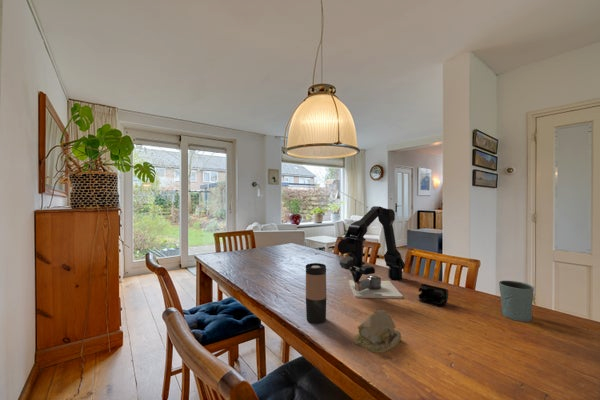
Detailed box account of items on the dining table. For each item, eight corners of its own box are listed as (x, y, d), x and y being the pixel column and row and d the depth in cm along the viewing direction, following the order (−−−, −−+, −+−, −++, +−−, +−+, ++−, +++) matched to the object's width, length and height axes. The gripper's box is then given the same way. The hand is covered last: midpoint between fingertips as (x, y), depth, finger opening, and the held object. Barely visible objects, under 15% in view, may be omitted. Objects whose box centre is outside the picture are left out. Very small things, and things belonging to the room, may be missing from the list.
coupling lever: (372, 283, 131) (372, 273, 131) (383, 287, 125) (383, 276, 125) (350, 290, 122) (350, 279, 121) (362, 294, 116) (362, 283, 116)
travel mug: (328, 316, 98) (328, 263, 98) (323, 326, 91) (323, 269, 91) (309, 313, 101) (308, 262, 100) (303, 322, 93) (302, 267, 93)
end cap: (448, 303, 110) (448, 287, 110) (442, 308, 105) (442, 291, 105) (424, 296, 117) (424, 281, 117) (417, 301, 112) (417, 285, 112)
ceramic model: (373, 357, 73) (373, 322, 73) (348, 338, 83) (347, 307, 83) (407, 344, 80) (407, 311, 80) (380, 327, 90) (379, 299, 90)
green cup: (525, 325, 91) (525, 290, 91) (493, 313, 100) (493, 282, 100) (539, 318, 95) (539, 286, 95) (506, 308, 104) (507, 278, 104)
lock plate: (389, 282, 136) (389, 280, 136) (402, 298, 115) (402, 295, 115) (348, 282, 137) (348, 279, 137) (355, 297, 116) (355, 294, 116)
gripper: (331, 248, 126) (330, 280, 126) (356, 257, 110) (355, 293, 110) (349, 246, 131) (348, 277, 132) (376, 254, 115) (375, 289, 115)
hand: (356, 284), depth 122 cm, fingers closed
